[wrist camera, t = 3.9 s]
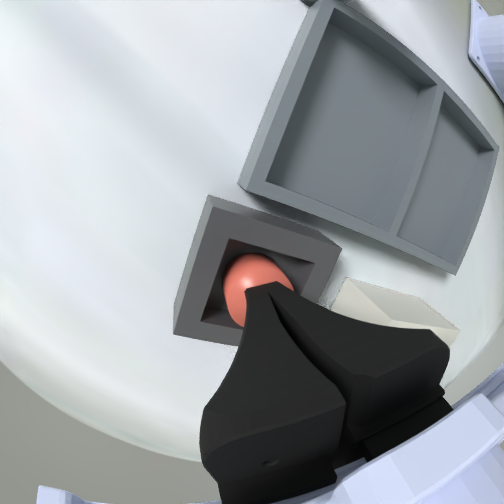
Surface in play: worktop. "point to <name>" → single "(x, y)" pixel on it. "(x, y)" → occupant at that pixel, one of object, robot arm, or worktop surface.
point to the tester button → (248, 280)
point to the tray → (372, 140)
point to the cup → (391, 309)
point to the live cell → (311, 0)
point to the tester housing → (233, 245)
